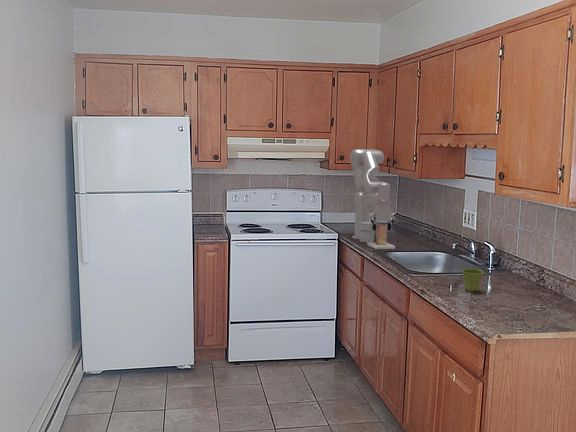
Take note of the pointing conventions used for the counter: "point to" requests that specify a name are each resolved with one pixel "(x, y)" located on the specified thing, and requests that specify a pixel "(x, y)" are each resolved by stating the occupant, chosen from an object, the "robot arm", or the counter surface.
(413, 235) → the counter surface
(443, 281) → the counter surface
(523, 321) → the counter surface
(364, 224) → the supplement box
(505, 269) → the counter surface
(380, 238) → the oak block
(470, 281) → the plant pot
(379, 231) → the terracotta block
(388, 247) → the baseplate
